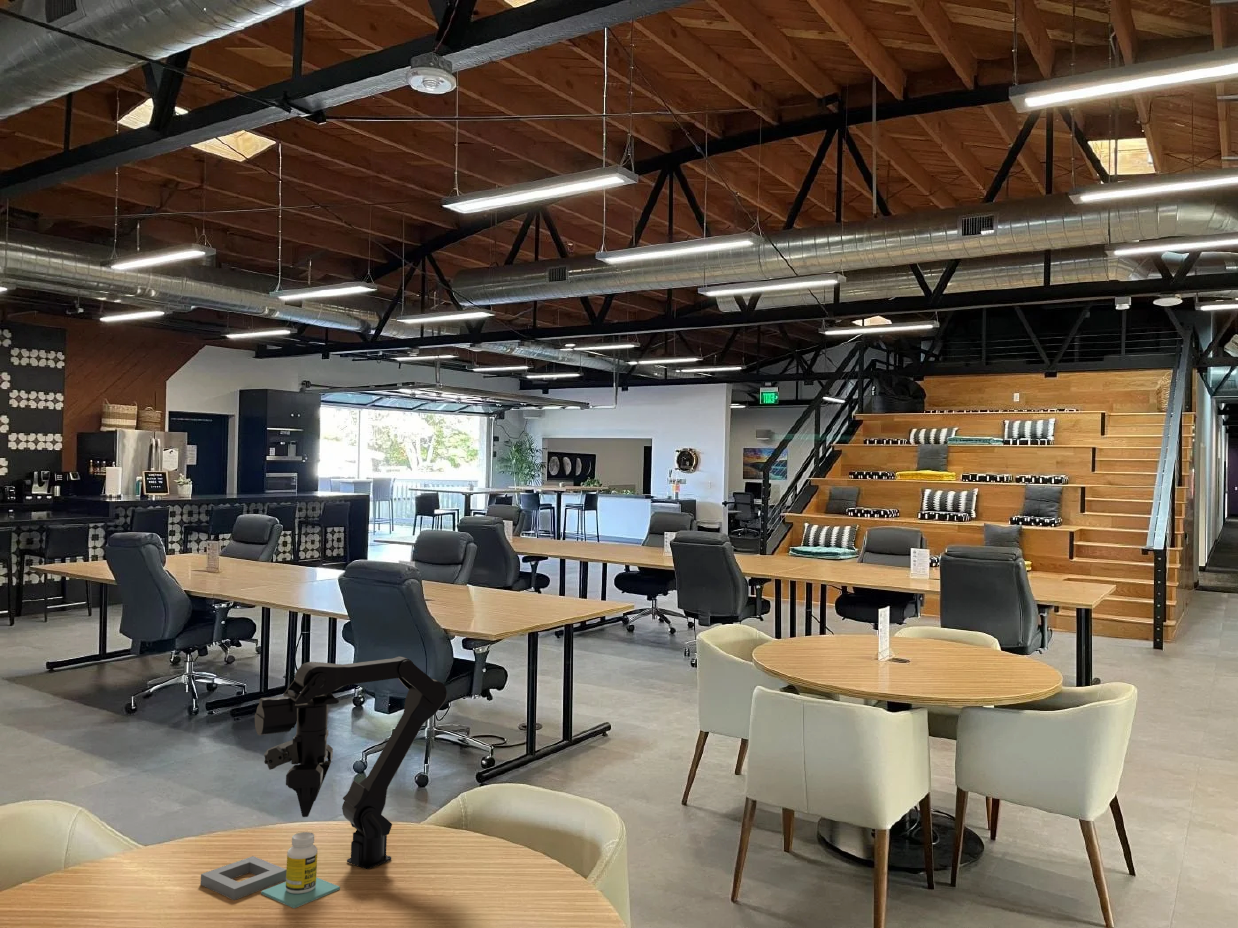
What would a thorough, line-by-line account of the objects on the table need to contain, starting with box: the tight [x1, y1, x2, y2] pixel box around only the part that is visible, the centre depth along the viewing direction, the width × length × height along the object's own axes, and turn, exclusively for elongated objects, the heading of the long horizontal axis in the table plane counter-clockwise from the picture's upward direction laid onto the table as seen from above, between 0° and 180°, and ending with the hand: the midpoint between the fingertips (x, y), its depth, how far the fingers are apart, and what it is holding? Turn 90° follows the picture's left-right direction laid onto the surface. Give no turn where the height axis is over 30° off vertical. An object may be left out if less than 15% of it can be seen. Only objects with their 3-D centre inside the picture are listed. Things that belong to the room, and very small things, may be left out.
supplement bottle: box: [285, 831, 318, 894], centre depth 168 cm, size 5×5×10 cm
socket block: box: [200, 855, 287, 901], centre depth 171 cm, size 11×11×2 cm
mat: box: [260, 876, 341, 909], centre depth 167 cm, size 10×10×1 cm
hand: (309, 808), depth 175 cm, fingers open, 9 cm apart
